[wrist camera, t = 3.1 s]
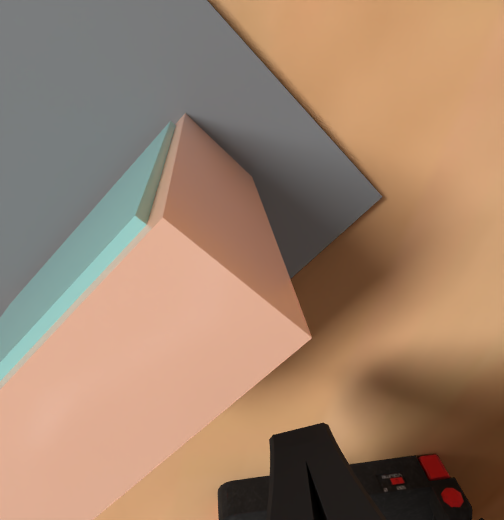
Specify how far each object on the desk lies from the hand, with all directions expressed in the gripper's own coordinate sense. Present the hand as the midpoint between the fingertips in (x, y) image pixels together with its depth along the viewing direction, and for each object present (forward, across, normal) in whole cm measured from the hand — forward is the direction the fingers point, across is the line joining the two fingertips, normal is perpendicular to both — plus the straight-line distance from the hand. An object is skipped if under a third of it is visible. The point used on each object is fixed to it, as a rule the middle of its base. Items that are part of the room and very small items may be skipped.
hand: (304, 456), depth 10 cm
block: (+4, +3, -5) cm, 7 cm away
